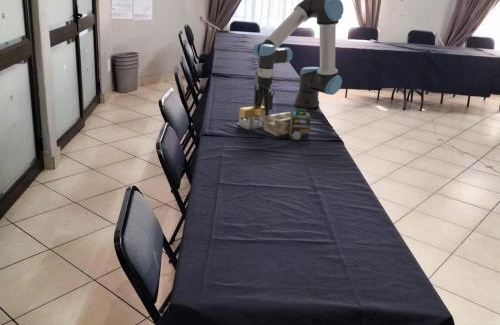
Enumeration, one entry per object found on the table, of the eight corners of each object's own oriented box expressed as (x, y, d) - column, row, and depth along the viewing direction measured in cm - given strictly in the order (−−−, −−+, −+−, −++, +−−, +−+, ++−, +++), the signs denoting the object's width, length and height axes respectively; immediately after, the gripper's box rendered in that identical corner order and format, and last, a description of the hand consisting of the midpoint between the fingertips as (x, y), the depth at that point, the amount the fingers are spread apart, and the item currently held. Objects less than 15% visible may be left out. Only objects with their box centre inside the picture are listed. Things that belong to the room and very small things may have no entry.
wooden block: (260, 113, 236) (261, 105, 234) (265, 116, 233) (266, 107, 231) (239, 116, 228) (239, 107, 226) (244, 118, 225) (245, 110, 223)
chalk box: (306, 134, 225) (310, 106, 220) (308, 140, 217) (312, 111, 211) (288, 133, 225) (291, 104, 219) (289, 139, 217) (293, 110, 211)
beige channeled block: (287, 125, 237) (288, 111, 234) (300, 131, 229) (301, 117, 226) (263, 129, 227) (264, 115, 224) (276, 135, 220) (277, 121, 217)
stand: (252, 122, 238) (253, 111, 235) (263, 127, 231) (263, 116, 229) (237, 124, 232) (237, 113, 230) (247, 130, 226) (248, 118, 223)
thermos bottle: (267, 107, 265) (271, 59, 254) (265, 111, 258) (269, 62, 247) (254, 106, 266) (257, 58, 255) (251, 109, 259) (255, 60, 248)
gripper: (248, 73, 230) (246, 116, 239) (270, 80, 218) (266, 126, 227) (260, 72, 234) (257, 114, 244) (282, 79, 222) (278, 124, 231)
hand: (261, 120), depth 235 cm, fingers closed on wooden block, 4 cm apart
